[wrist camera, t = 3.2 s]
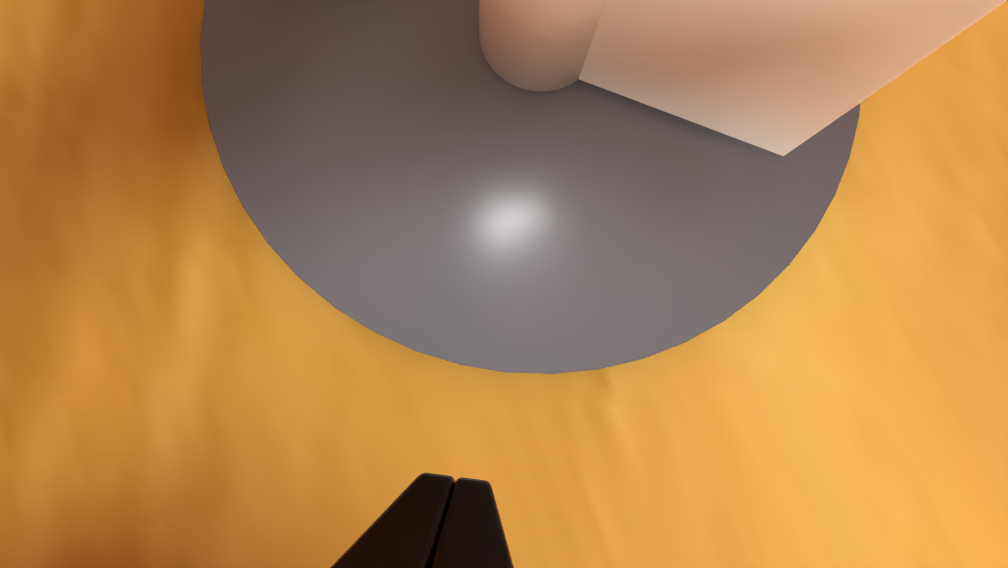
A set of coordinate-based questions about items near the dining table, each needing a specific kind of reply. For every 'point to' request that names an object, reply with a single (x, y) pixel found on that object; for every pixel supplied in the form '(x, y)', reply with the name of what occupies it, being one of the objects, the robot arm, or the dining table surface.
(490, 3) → the peg key
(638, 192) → the tuner plate
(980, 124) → the dining table surface
